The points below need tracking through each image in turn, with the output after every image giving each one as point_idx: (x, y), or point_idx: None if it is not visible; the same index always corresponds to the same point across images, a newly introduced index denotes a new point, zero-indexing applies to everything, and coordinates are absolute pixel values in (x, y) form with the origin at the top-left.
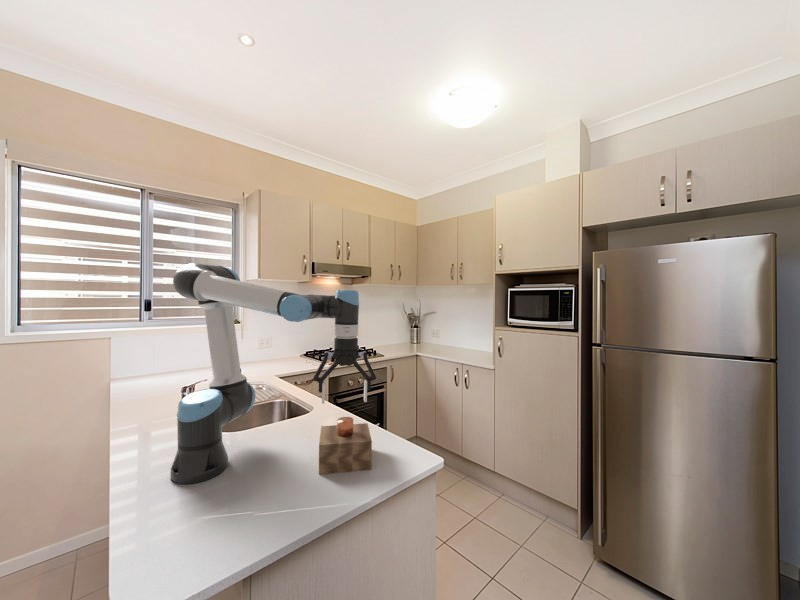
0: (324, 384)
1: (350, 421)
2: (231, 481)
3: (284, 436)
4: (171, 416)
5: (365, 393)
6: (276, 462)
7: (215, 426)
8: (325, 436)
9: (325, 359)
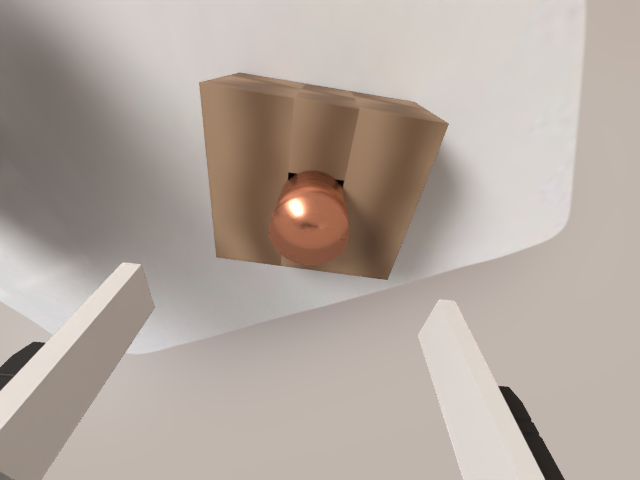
0: (41, 475)
1: (328, 258)
2: (22, 169)
3: None
4: None
5: (442, 394)
6: (96, 98)
7: None
8: (232, 204)
9: None
